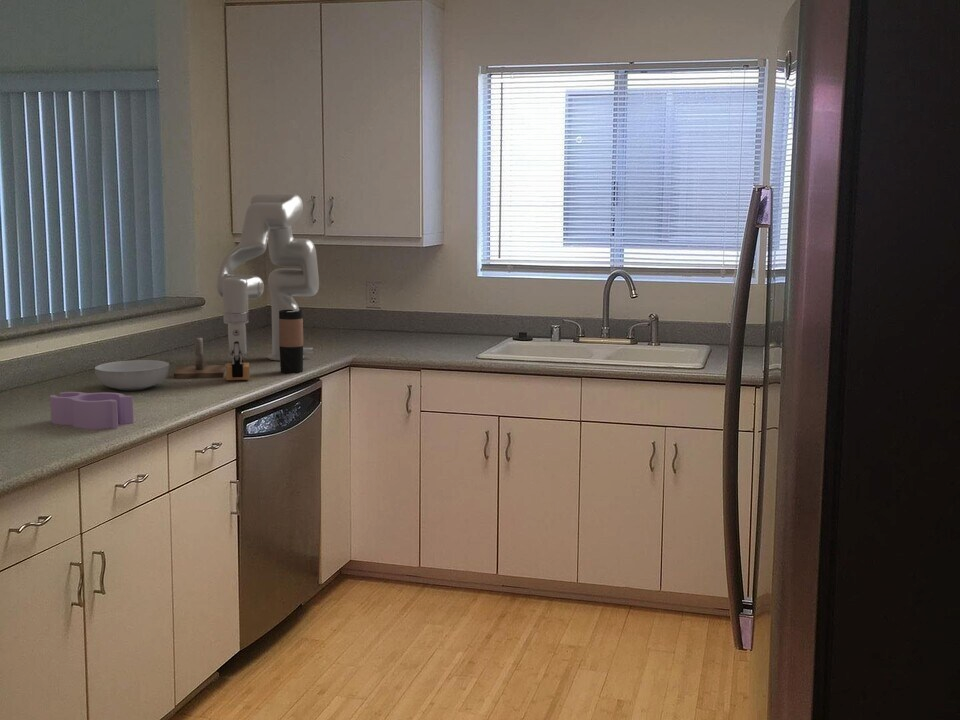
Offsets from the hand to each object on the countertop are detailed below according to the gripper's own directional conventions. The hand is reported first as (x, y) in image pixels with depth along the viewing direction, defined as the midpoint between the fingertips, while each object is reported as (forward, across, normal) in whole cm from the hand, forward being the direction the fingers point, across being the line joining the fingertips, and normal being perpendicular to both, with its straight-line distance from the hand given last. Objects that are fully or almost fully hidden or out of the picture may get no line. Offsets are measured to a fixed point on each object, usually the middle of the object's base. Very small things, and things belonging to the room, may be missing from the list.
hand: (237, 374), depth 326 cm
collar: (+1, 0, 0) cm, 1 cm away
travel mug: (+2, +13, -17) cm, 21 cm away
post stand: (+2, +13, +12) cm, 18 cm away
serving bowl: (+2, -9, +30) cm, 32 cm away
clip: (+1, -59, +35) cm, 68 cm away
